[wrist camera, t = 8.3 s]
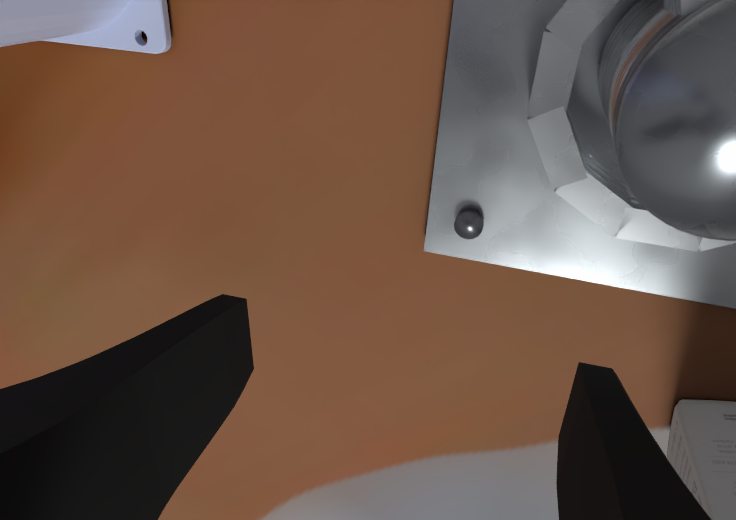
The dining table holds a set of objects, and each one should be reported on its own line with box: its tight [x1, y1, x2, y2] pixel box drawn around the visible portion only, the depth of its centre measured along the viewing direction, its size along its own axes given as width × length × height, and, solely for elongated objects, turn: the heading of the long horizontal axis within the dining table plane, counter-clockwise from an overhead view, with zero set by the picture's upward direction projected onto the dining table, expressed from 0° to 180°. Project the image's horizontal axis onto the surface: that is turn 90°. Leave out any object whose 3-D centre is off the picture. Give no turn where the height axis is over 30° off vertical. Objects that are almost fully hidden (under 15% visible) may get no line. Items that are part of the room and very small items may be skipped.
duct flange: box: [424, 0, 736, 309], centre depth 15 cm, size 14×14×2 cm
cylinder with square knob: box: [598, 0, 736, 241], centre depth 12 cm, size 5×7×6 cm
